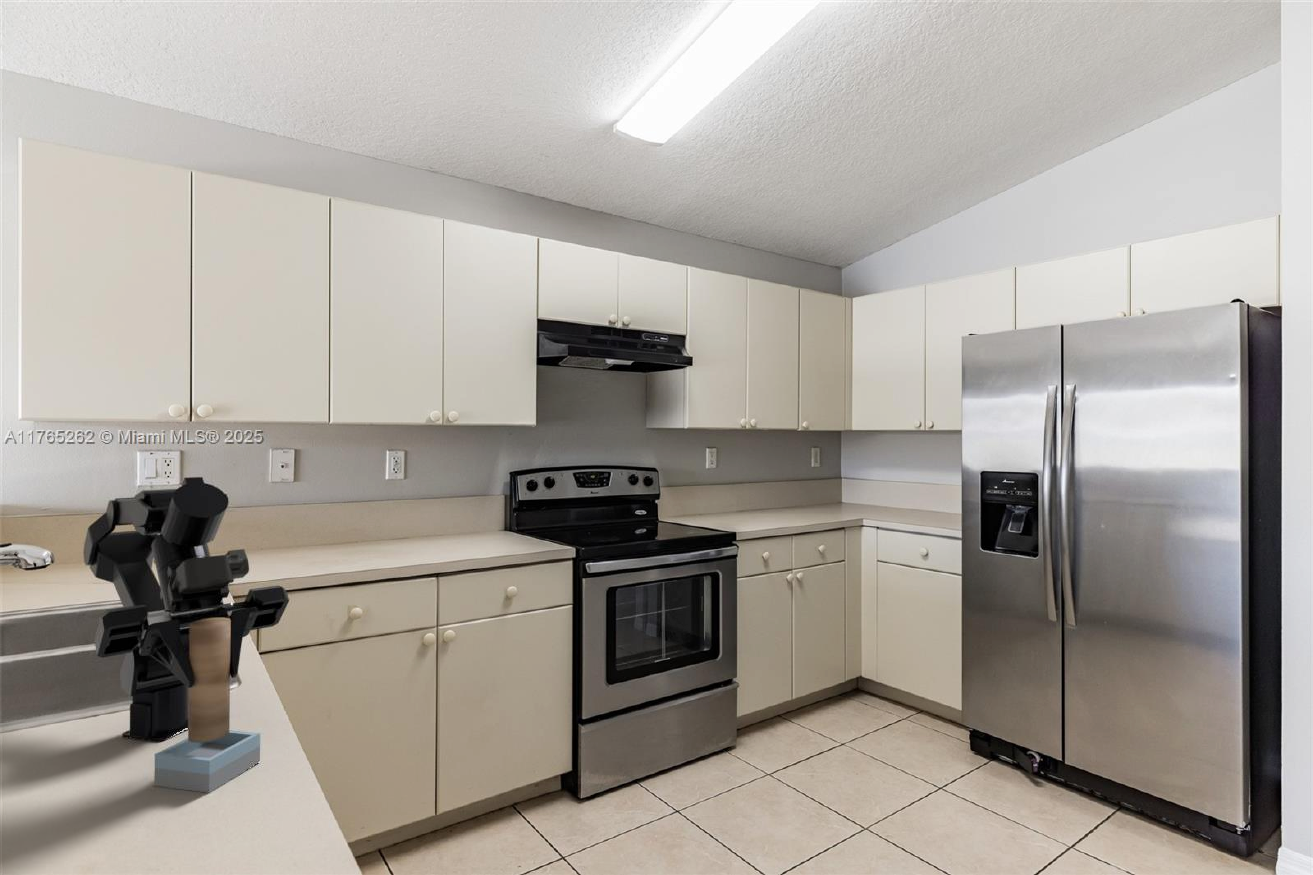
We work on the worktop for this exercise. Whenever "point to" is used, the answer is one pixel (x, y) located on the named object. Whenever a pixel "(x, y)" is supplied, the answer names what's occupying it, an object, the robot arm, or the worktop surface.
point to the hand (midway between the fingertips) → (213, 680)
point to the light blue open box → (206, 761)
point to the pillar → (209, 679)
